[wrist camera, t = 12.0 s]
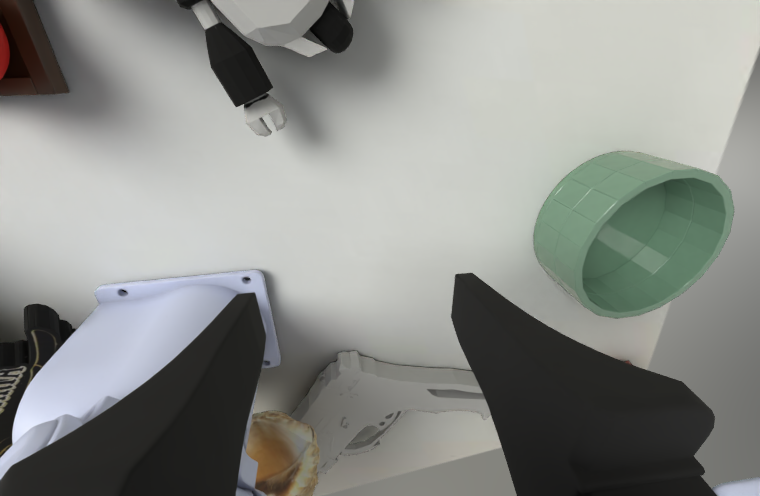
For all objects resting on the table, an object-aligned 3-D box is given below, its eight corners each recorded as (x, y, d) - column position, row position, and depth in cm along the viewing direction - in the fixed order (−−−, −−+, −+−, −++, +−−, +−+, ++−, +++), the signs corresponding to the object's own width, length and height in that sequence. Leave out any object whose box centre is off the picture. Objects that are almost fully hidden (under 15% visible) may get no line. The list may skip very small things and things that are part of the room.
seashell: (275, 590, 17) (240, 556, 24) (368, 497, 20) (313, 493, 28) (208, 437, 18) (195, 450, 26) (305, 378, 22) (269, 403, 30)
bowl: (522, 287, 26) (558, 326, 22) (549, 155, 21) (601, 175, 18) (638, 273, 27) (692, 308, 23) (687, 146, 23) (765, 164, 19)
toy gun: (335, 542, 39) (200, 524, 33) (505, 376, 31) (363, 313, 25) (336, 563, 38) (195, 548, 32) (516, 393, 29) (367, 330, 23)
